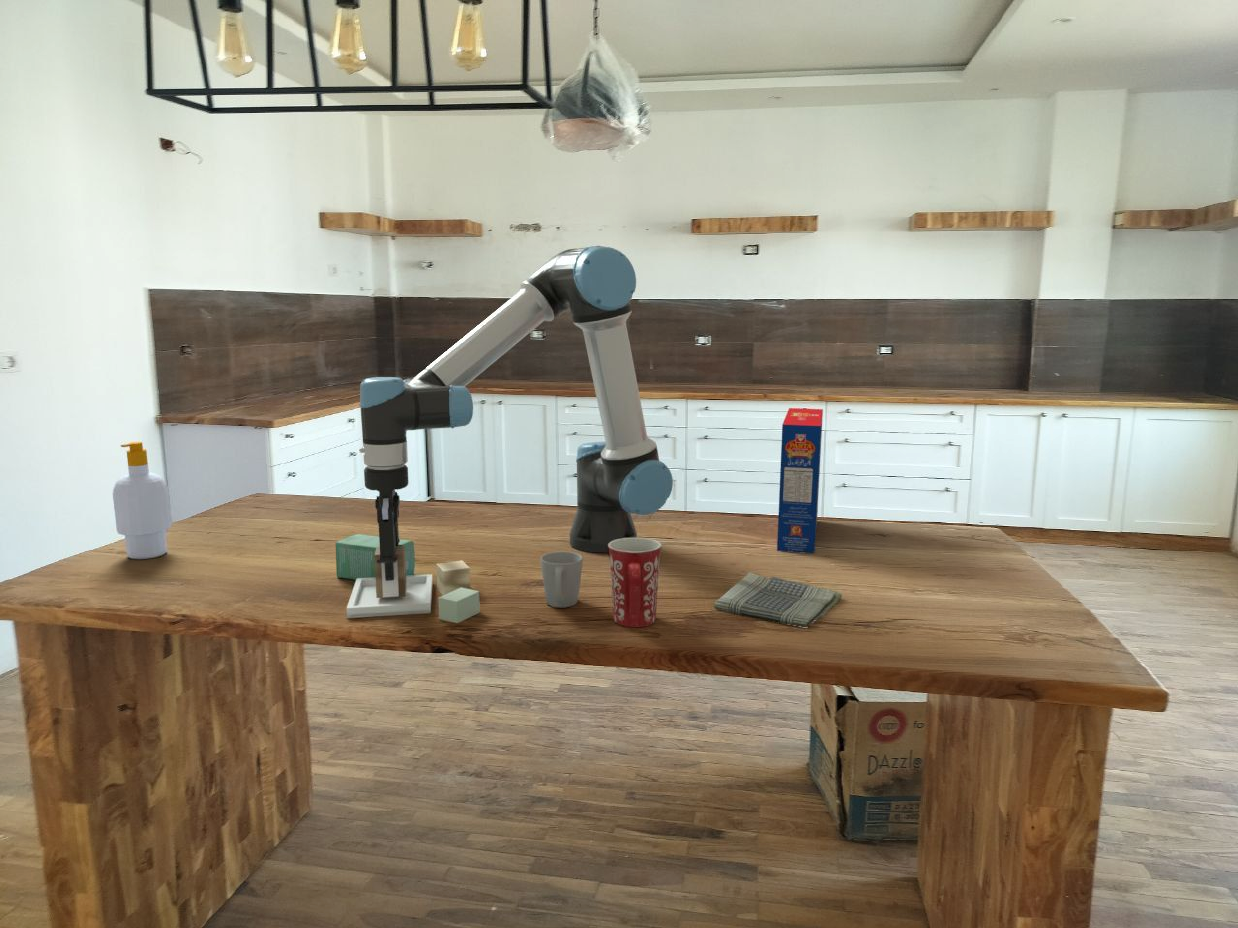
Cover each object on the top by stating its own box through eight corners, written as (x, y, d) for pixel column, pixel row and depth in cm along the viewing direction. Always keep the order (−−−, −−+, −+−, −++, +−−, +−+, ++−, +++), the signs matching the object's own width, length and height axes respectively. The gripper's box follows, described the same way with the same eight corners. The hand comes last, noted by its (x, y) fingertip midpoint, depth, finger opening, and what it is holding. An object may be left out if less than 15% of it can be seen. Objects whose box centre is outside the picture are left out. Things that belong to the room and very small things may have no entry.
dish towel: (808, 633, 142) (809, 614, 142) (711, 612, 152) (712, 594, 151) (843, 600, 158) (844, 583, 157) (754, 583, 167) (754, 567, 167)
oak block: (463, 585, 164) (462, 560, 163) (470, 593, 159) (469, 567, 158) (437, 588, 162) (436, 563, 161) (444, 597, 157) (443, 571, 156)
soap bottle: (108, 558, 179) (95, 445, 174) (151, 545, 188) (139, 437, 183) (143, 564, 175) (131, 448, 170) (185, 551, 184) (174, 440, 180)
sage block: (461, 608, 152) (461, 587, 151) (479, 612, 150) (479, 591, 149) (439, 619, 147) (438, 597, 146) (457, 624, 145) (456, 601, 144)
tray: (432, 583, 165) (432, 574, 164) (430, 612, 149) (430, 603, 149) (357, 587, 162) (356, 578, 162) (347, 618, 147) (346, 608, 146)
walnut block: (406, 587, 158) (405, 545, 157) (405, 596, 153) (403, 553, 152) (378, 588, 157) (376, 546, 156) (376, 597, 152) (374, 555, 151)
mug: (609, 609, 151) (609, 536, 149) (660, 610, 151) (661, 537, 148) (604, 637, 139) (604, 558, 136) (660, 639, 138) (661, 559, 136)
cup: (584, 595, 158) (584, 551, 156) (579, 615, 148) (579, 568, 147) (544, 594, 158) (543, 550, 157) (536, 614, 149) (535, 567, 147)
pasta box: (784, 519, 213) (789, 408, 208) (817, 521, 211) (822, 409, 206) (776, 550, 187) (782, 424, 181) (814, 553, 185) (820, 426, 179)
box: (396, 586, 163) (394, 548, 162) (336, 579, 167) (333, 542, 166) (416, 574, 170) (415, 538, 168) (358, 568, 174) (356, 532, 173)
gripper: (368, 456, 159) (375, 576, 163) (358, 476, 141) (365, 609, 146) (410, 455, 160) (415, 573, 165) (404, 475, 143) (410, 606, 147)
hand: (392, 590), depth 155 cm, fingers closed on walnut block, 5 cm apart
